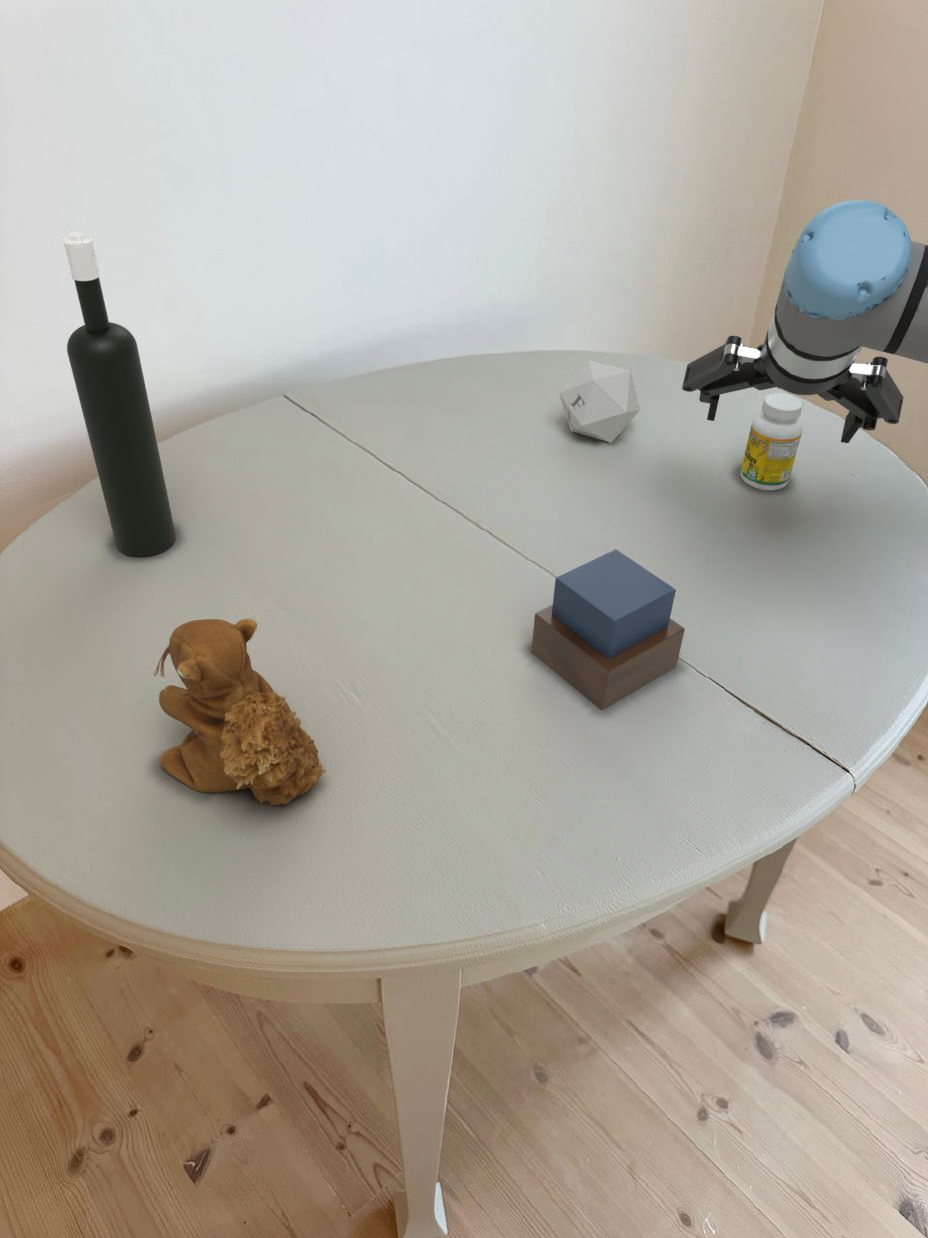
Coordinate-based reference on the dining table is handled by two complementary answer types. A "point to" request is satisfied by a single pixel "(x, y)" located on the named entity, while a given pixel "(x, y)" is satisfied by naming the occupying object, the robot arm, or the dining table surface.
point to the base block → (604, 659)
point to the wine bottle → (117, 415)
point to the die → (600, 401)
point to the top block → (612, 603)
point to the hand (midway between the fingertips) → (779, 419)
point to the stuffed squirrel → (232, 718)
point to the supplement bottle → (773, 443)
